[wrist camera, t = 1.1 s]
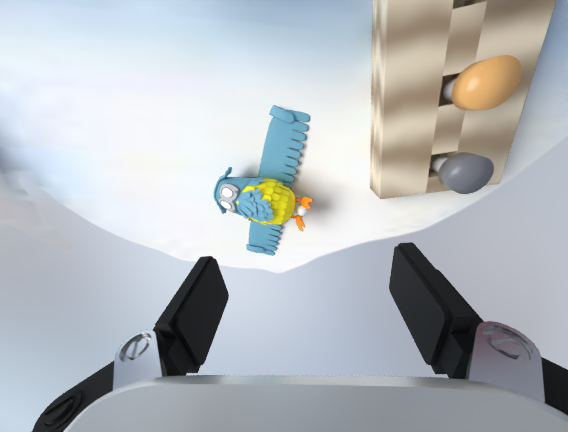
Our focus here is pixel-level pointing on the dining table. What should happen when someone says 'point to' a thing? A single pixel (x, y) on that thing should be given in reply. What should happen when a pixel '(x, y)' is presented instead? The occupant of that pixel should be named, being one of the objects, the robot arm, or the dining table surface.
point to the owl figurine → (268, 184)
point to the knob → (463, 171)
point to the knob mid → (484, 83)
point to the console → (443, 85)
